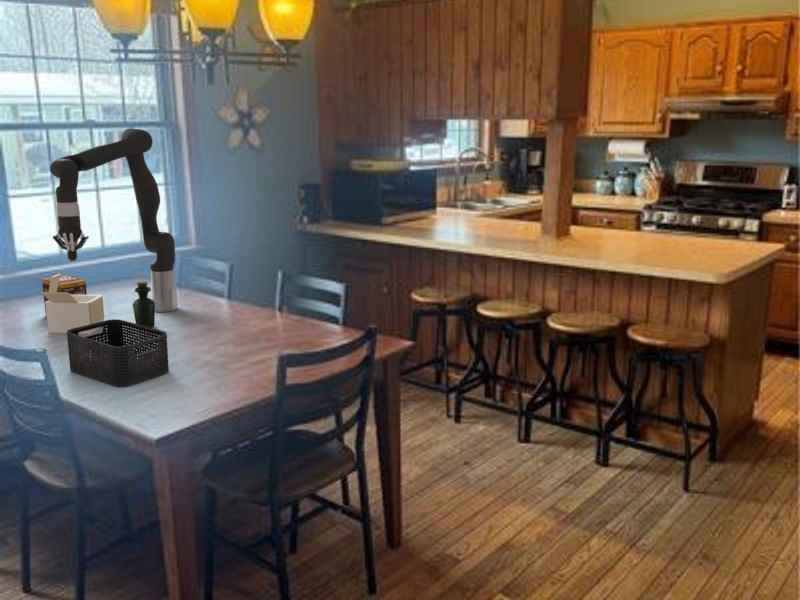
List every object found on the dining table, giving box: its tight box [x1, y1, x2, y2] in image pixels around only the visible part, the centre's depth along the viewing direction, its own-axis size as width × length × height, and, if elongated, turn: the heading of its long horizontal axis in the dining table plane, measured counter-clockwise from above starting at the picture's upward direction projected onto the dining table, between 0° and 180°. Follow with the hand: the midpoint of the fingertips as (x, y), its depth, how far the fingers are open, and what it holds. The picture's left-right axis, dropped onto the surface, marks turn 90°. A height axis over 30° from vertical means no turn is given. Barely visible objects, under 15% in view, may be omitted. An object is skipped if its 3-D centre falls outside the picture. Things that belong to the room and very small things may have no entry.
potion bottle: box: [132, 280, 156, 329], centre depth 274 cm, size 8×8×18 cm
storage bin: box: [66, 319, 170, 388], centre depth 227 cm, size 29×19×13 cm
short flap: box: [47, 273, 61, 299], centre depth 269 cm, size 9×6×1 cm
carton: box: [44, 294, 105, 335], centre depth 272 cm, size 17×13×12 cm
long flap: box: [41, 291, 78, 303], centre depth 260 cm, size 10×9×1 cm
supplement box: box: [41, 274, 88, 317], centre depth 288 cm, size 10×15×16 cm
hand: (73, 260), depth 267 cm, fingers closed
